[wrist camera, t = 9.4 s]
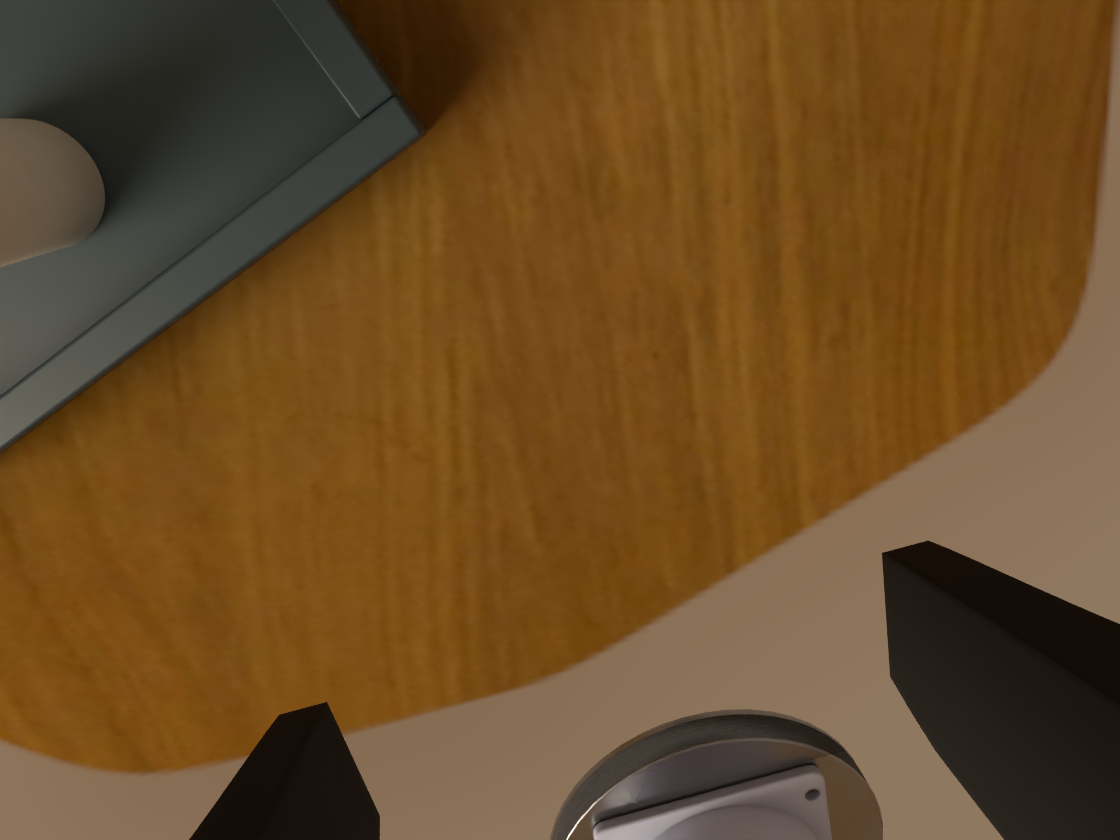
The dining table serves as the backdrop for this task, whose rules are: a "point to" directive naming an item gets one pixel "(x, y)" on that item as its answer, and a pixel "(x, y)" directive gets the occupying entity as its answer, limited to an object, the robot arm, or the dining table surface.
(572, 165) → the dining table surface
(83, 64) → the desk tray
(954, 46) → the dining table surface
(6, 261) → the glue stick
